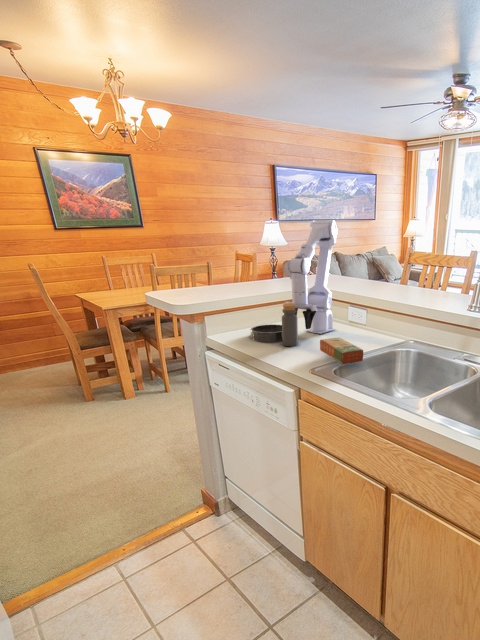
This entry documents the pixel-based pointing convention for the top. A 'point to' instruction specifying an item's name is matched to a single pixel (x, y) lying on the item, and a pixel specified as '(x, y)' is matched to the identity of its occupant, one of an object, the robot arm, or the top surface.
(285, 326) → the bottle
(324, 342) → the carton
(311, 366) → the top surface
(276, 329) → the pan
